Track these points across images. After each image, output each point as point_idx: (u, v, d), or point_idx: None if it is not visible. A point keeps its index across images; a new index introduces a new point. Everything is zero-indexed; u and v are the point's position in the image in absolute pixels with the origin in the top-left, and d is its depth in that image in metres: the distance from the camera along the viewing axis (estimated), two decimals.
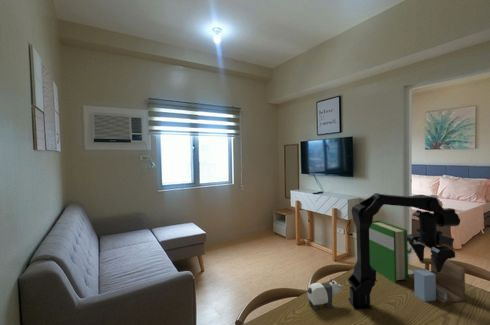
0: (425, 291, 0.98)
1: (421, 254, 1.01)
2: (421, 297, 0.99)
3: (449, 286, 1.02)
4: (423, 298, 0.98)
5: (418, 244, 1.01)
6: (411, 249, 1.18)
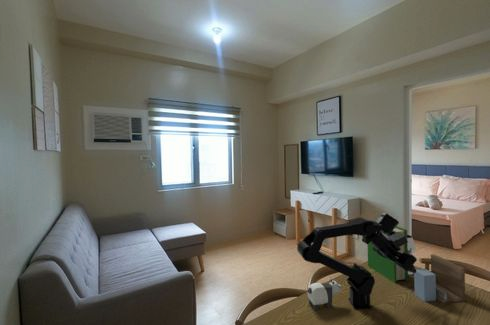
0: (425, 291, 0.98)
1: (393, 257, 1.04)
2: (421, 297, 0.99)
3: (449, 286, 1.02)
4: (423, 298, 0.98)
5: None
6: (411, 249, 1.18)
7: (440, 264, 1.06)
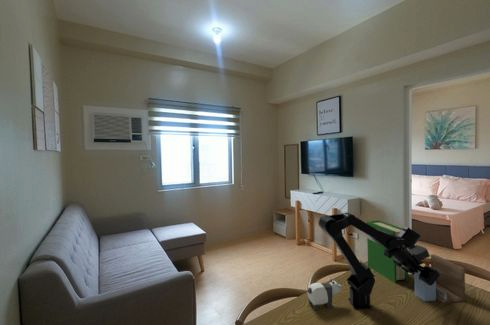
0: (425, 291, 0.98)
1: None
2: (421, 297, 0.99)
3: (449, 286, 1.02)
4: (423, 298, 0.98)
5: None
6: None
7: (440, 264, 1.06)
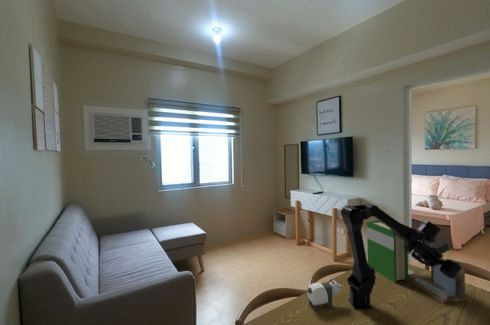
0: (445, 287, 0.99)
1: None
2: None
3: None
4: None
5: None
6: None
7: None
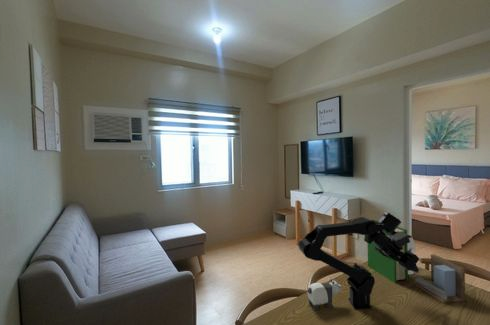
0: (445, 287, 0.99)
1: (396, 257, 1.04)
2: None
3: None
4: None
5: None
6: (411, 249, 1.18)
7: (440, 264, 1.06)
